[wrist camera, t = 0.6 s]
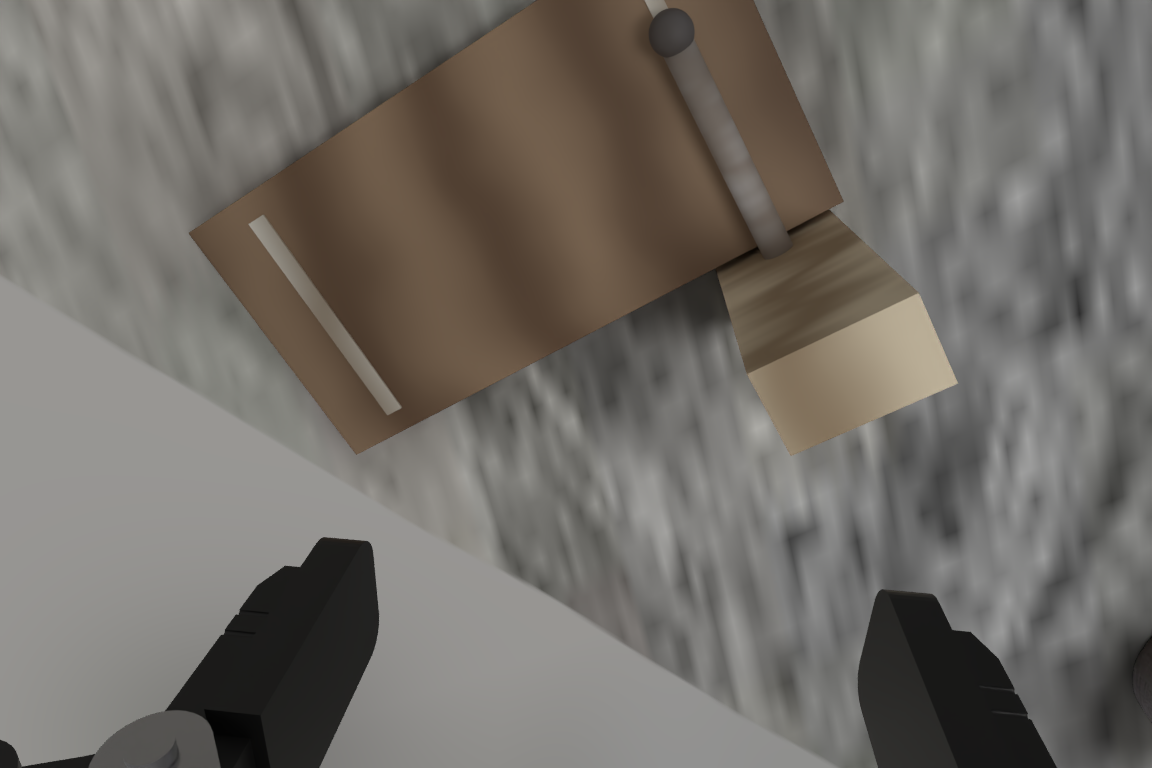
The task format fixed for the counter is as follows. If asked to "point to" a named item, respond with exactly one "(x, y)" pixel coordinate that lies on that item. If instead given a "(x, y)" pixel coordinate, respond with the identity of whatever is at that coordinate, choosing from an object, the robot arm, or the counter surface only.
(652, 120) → the walnut board
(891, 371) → the marking gauge
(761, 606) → the counter surface
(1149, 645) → the pillar candle
